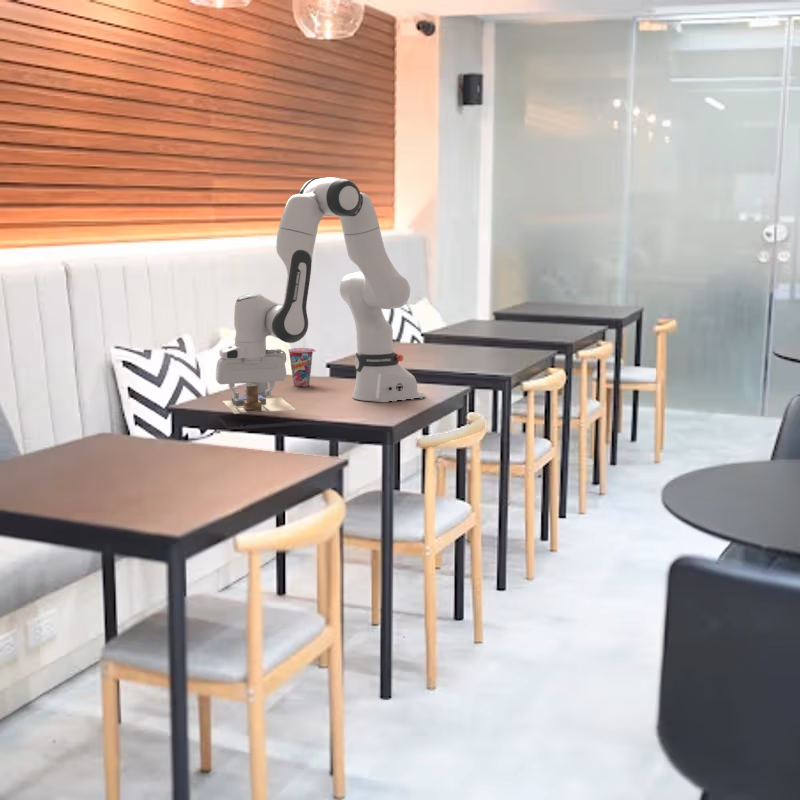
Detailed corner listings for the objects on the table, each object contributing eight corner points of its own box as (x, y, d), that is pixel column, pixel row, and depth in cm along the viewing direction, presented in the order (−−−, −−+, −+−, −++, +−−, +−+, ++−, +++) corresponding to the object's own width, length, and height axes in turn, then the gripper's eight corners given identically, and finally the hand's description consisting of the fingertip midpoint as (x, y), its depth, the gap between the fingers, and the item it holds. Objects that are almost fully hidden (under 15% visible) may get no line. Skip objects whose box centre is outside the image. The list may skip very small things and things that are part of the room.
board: (280, 400, 343) (280, 391, 342) (296, 413, 323) (295, 403, 323) (222, 404, 337) (222, 395, 337) (234, 417, 317) (234, 407, 317)
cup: (287, 387, 366) (286, 351, 364) (290, 383, 374) (289, 347, 372) (315, 387, 366) (314, 351, 363) (318, 383, 374) (317, 347, 372)
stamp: (258, 407, 326) (257, 384, 325) (261, 410, 322) (260, 386, 321) (243, 408, 325) (243, 385, 323) (246, 411, 320) (245, 387, 319)
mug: (272, 393, 355) (271, 356, 353) (261, 400, 344) (260, 361, 342) (249, 392, 356) (248, 355, 354) (237, 399, 345) (236, 361, 343)
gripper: (283, 347, 326) (284, 393, 329) (213, 350, 320) (215, 397, 323) (288, 350, 320) (289, 397, 323) (217, 353, 314) (219, 401, 317)
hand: (252, 397), depth 323 cm, fingers open, 8 cm apart
